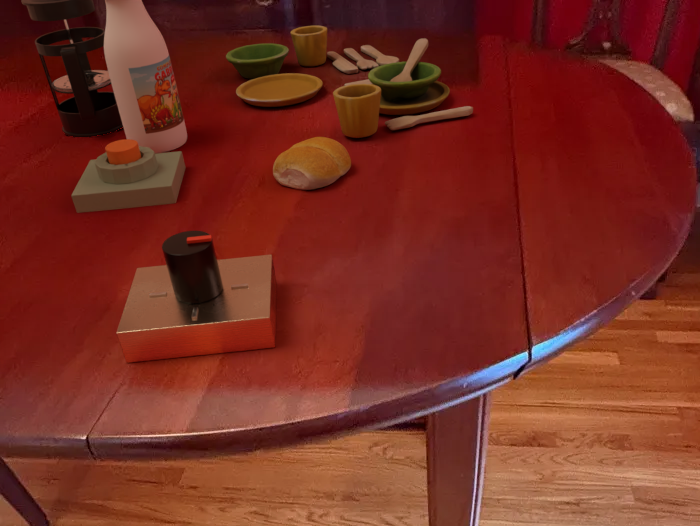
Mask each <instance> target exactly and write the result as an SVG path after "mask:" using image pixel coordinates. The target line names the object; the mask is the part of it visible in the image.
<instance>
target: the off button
mask: <svg viewBox="0 0 700 526" xmlns="http://www.w3.org/2000/svg"><path fill="white" fill-rule="evenodd" d="M104 149H105V153H107V157H108V160H109V163H110V164H113V165H121V164H128V163H131V162H135V161H137V160H139V159H140V158H141V153H140V149H139V146H138V142H137V141H135V140H131V139H127V138H126V139H118V140H115V141H112V142H110V143H108V144H107V145H105V148H104Z"/></svg>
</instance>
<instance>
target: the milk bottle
mask: <svg viewBox="0 0 700 526" xmlns="http://www.w3.org/2000/svg"><path fill="white" fill-rule="evenodd" d="M104 3H105V8H106V9H105V10H106V20H105V27H104V28H105V29H104V30H105V35H104V46H103V54H104V59H105V64H106V67H107V71H108V72H109V76H110V80H111V84H110V85H111V88H112V92H114V95H115V99H116V102H117V106H118V110H119V113H120V117H121V120H122V124H123V131H124V134H125V138H126V139H131V140H135V141H137V142H138V146H142V147H149V148H150V149H152V150H153V151H154V152H155V154H157V153H168V152H170V151H171V152H172V151H174V150H177V149H178V148H180V147H182V146H183V145H184V144H186V143H187V140H188V133H187V132H188V131H187V127H186V123H185V117H184V113H183V109H182V105H181V100H180V95H179V90H178V86H177V82H176V77H175V74H174V69H173V64H172V61H171V57H170V53H169V49H168V45H167V44H166V41H165V38H164V36H163V35H162V33H161V31H160V30H159V28H158V26H157V25H156V23H155V22H154V21H153V19H152V18H151V16H150V14H149V12H148V11H147V9H146V7H145V5H144V2H143V0H104Z"/></svg>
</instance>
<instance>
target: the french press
mask: <svg viewBox="0 0 700 526" xmlns="http://www.w3.org/2000/svg"><path fill="white" fill-rule="evenodd" d="M20 1H21V4H22V5H23V6H26V9H27V12H28V15H29V18H30V19H31V20H32V21H34V22H56V21H57V22H58V21H63V23H64V26H65V29H59V30H56V31H52V32H47V33H45V34H42V35H40V36H38V37H37V38H36V39H35V40H34V44H35V47H36V50H37V53H38V56H39V59H40V62H41V65H42V69H43V71H44V74H45V78H46V80H47V84H48V86H49V89H50V92H51V95H52V98H53V101H54V104H55V107H56V110H57V113H58V116H59V119H60V122H61V125H62V127H61V129H62V133H63V132H64V133H65V134H66V135H68V136H67V137H70V136H73V137H72V138H75V137H89V138H92V137H91V136H97V135H102V136H104V135H103V134H107V133H110V132H113V133H115V132H114V131H116V130H118V129H120V128H122V127H123V124H122V120H121V117H120V113H119V110H118V106H117V102H116V99H115V95H114V91H98V90H101V89H104V88H106V87H108V86H110V85H112V84H111V80H110V76H109V72H108V70H104V69H94V70H93V69H92V68H91V64H90V60H89V57H88V54H87V53H90V52H93V51H95V50H98V49H101V48H104V35H105V29H104V28H101V27H96V26H82V27H71V28H70V26H69V23H68V20H71V19H75V18H81V17H84V16H87V15H89V14H92V13H93V12H95V10H96V8H95V4H94V0H20ZM85 38H86V40H83V39H85ZM89 38H90V39H89ZM62 41H63V42H64V41H68V42H69V43H65V44H55V43H60V42H62ZM45 57H61V58H62V62H63V66H64V69H65V72H66V75H63V76H60V77H58V78H57V79H54V80H53V81H52V77H51V75H50V72H49V69H48V66H47V63H46V60H45ZM57 93H60V94H65V95H66V94H69V95H73V96H72V97H69V98H67V99H65V100H62V101H61V102H60V103H59V100H58V96H57ZM64 133H63V134H64ZM65 134H64V135H65ZM110 134H111V133H110ZM66 135H65V136H66ZM107 135H108V134H107ZM97 137H98V136H97Z"/></svg>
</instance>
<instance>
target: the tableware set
mask: <svg viewBox="0 0 700 526" xmlns="http://www.w3.org/2000/svg"><path fill="white" fill-rule="evenodd" d="M289 32H290V37H291V40H292V44H293V47H294V53H295V55H296V59H297V63H298V64H299V66H301V67H306V68H307V67H317V66H321V65H323V64H325V63H326V60H327V58H328V59H330V60H332V61H333V62H332V66H334V68H336V69H337V70H339V71H340V72H341V73H344V74H347V75H352V74H357V73H359V70H362V71H365V70H367V69H371V70H370V71H369V72H368V73H367V79H363V80H362V79H361V80H357V81H352V82H346V83H344V85H342V86H340V87H338V88H335V89H334V91H333V92H332V95H333V100H334V103H335V108H336V113H337V117H338V120H339V125H340V129H341V133H342V134H343V135H344V136H346V137H348V138H353V139H360V138H361V139H362V138H366V137H370V136H372V135H374V134H376V133H377V131H378V128H379V119H380V118H379V116H380V114H382V115H388V116H400V117H396V118H392V119H389V120H386V121H384V125H385V126H386V127H387V128H388V129H389V130H390V131H398V130H403V129H408V128H413V127H414V126H416V125H418V124H422V123H423V124H424V123H429V122H435V121H442V120H450V119H455V118H461V117H468V116H470V115H472V114H473V113H474V107H473V106H470V105H464V106H460V107H455V108H450V109H444V110H440V111H434V112H433V111H432V112H429V113H425V112H428V111H431V110H433V109H435V108H437V107H439V106H440V105H441V104H442V103H444V101H445V100H446V99H447V98H448V97H449V95H450V92H451V90H450V87H449V86H448V85H447V84H445V83H444V82H441V81H438V80H439V78H440V77H441V75H442V69H441V68H440V67H439V66H437V65H436V64H433V63H430V62H424V61H421V59H422V57H423V55H424V54H425V52H426V51H427V49H428V47H429V40H428V39H427V38H425V37H424V38H419V39H417V40H416V41H415V43H414V45H413V47H412V49H411V51H410V54H409V56H408V59H407V60H406V61H400V58H399V57H397V56H393V55H385V54H383V53H382V52H380V51H379V50H378V49H376V48H375V47H374V46H372V45H370V44H365V45H364V44H363V45H361V46H360V52H361V53H363V54H365V55H367V56H368V57H371V58H372V59H375V61H374V60H371V59H366V58H364V57H363V56H362V55H361V54H360V53H358V51H356V50H355V49H354V48H352V47H346V48H344V49H343V54H344V55H345V56H347V57H348V58H349V59H351V60H353V61H354V62H356V65H355V64H353V62H350V61H349V60H348V59H346V58H345V57H343V56H342V55H340V54H339V53H337V52H336V51H333V50H332V51H327V49H328V48H327V47H328V27H327V26H323V25H317V24H316V25H306V26H299V27H296V28H294V29H292V30H291V31H289ZM289 52H290V49H289V48H288V46H286V45H283V44H280V43H272V42H271V43H255V44H254V43H253V44H248V45H243V46H239V47H236V48H234V49H231V50H229V51H228V52H227V53H226V55H225V59H226V61H228V62H229V63H230V64H232V66H233V67H234V69H235V71H237V72H238V73H239V75H240V76H241V77H242V78H245V79H249V80H247V81H245V82H243V83H241V84H240V85H239V86H238V87H236V89H235V94H236V96H238V98H239V99H241V100H242V101H243V102H245V103H247V104H248V105H250V106H255V107H263V108H276V107H285V106H292V105H296V104H300V103H304V102H306V101H309V100H311V99H312V98H314V97H315V96H317V94H318V92H319V91H320V90H321V89H322V87H323V84H324V82H323V81H322V79H320V77H317V76H315V75H312V74H306V73H295V72H289V73H287V72H285V73H280V71H281V69H282V66H283V63H284V61H285V59H286V58H287V56H288V54H289ZM420 113H423V114H420ZM413 114H420V115H413Z"/></svg>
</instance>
